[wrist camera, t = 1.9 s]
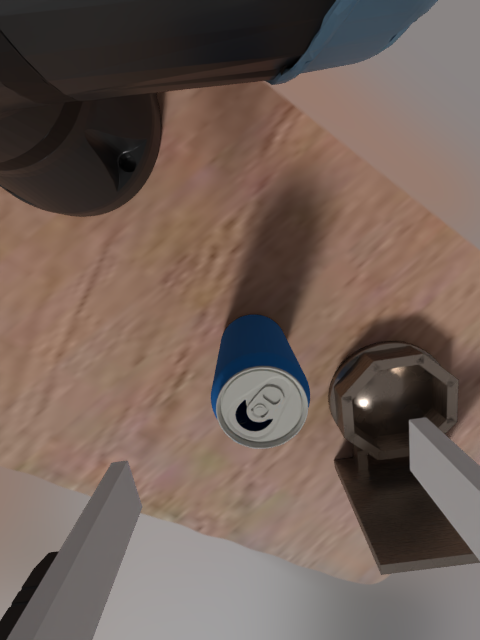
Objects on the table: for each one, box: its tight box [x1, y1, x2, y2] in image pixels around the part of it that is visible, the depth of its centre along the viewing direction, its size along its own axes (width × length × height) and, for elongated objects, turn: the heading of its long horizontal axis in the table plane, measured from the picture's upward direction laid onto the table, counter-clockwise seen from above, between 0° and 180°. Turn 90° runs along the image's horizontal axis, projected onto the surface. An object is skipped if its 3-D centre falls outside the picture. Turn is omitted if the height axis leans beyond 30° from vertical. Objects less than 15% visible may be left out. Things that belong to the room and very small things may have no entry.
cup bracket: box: [328, 341, 480, 575], centre depth 25 cm, size 14×12×11 cm
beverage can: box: [211, 315, 310, 449], centre depth 23 cm, size 6×6×12 cm
